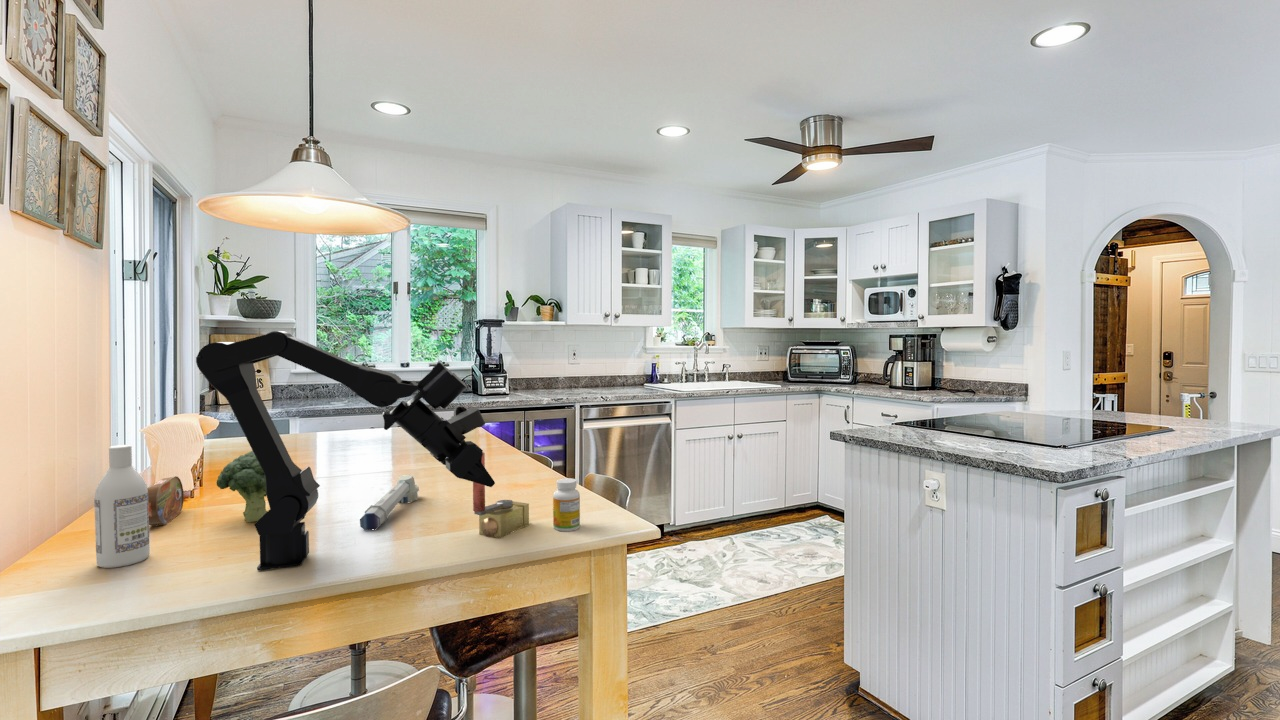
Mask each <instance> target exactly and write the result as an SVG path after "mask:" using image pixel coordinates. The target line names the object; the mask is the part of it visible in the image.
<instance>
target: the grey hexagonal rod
mask: <svg viewBox="0 0 1280 720" xmlns="http://www.w3.org/2000/svg"><path fill="white" fill-rule="evenodd" d="M396 482H397V483H396V485H394V486H393V487H392V488H391V489H390V490H389V491H388V492H387V493H386V494H384V495H383V496H381V498H380V499H379V500H377V501H376V503H374V504H372V505H369V507H368V508H367V509H366V510H365V511H364V514H363V515H362V516H361V518H360V519H359V527H360V528H361V529H363V531H376V530H377V529H378V528H379V527H380V526H382V525H383V524H384V523H385V522H387V520H388V516H389V515H390V514H391V512H392V511H393V510H394V509H395V508H396V507H397V505H398V504H409V503H408V502H411V503H412V502H415V501H417V500H418V498H419V497H418V496H419V495H418V492H419V491H420V489H419V485H418V484H416V482H415V477H414V476H413V475H412V474H411V473H410V474H403V475H400V476H399V477H398V478H397V480H396ZM381 524H382V525H381ZM372 529H374V530H372ZM375 529H376V530H375Z"/></svg>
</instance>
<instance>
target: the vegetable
mask: <svg viewBox="0 0 1280 720" xmlns="http://www.w3.org/2000/svg"><path fill="white" fill-rule="evenodd" d="M216 486H217V487H218V488H219V489H220V490H225V489H227V488H228V489H229V490H231V491H232V492H235V491H237V492H238V494H239V495H240V496H241V497H242V498H243V499H244V501H245V507H244V511H243V512H242V515H243V517H244V522H247V523H256V521H258V520H259V519H260V518H261V517H262V516H263V515H264V514H265V513H267V512H268V511H269V510H267V509H266V504H267V503H266V500H265V498H267V496H266V483H265V475H264V472H263V470H262V468H261V466H260V464H259V462H258V460H257V458H256V456H255V454H254V452H253V450H252V449H251V451H249V452H247V453H245V454H244V455H243V454H242V455H239V456H238V457H236V458H234V459H233V460H232V461H230V462H229V463H228V464H226V465H225V466H224V467H223V469H222V470H221V472H220V473H219V475H218V476H217V480H216Z"/></svg>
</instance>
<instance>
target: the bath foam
mask: <svg viewBox="0 0 1280 720" xmlns="http://www.w3.org/2000/svg"><path fill="white" fill-rule="evenodd" d="M132 452H133V451H132V445H131V444H119V445H111V446H109V447H108V463H109V468H108V469H107V470H106V472H105V474H104V475H103V476H102V478H101V479H100V480H99V482H98V484H97V486H96V488H95V491H94V499H93V502H94V527H95V529H94V532H95V557H96V558H95V559H96V565H97V566H98V567H100V568H105V569H110V568H114V569H115V568H122V567H128V566H131V565H134V564H137V563H141V562H142V561H144V560H146V559H148V557H149V556H150V555H151V554H150V553H151V552H150V551H151V550H150V548H151V547H150V546H151V545H150V525H149V507H148V489H147V488H148V486H147V483H146V481H145V479H144V477H143V476H142V475H141V473H139V471H138V470H136V469H135V467H134V466H133V458H132V457H133V454H132Z"/></svg>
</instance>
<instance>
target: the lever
mask: <svg viewBox="0 0 1280 720" xmlns="http://www.w3.org/2000/svg"><path fill="white" fill-rule="evenodd" d="M485 456H486V455H485V452H484V451H483V456H482V464H483V466H484V467H485V468H486V462H485V460H486V459H485ZM472 503H473V505H472V512H473V514H474V515H477V516H479V515H480V516H481V515H484V514H487V513H491V512H494V511H497V510H500V509H509V508H512V507H513V500H511V499H500V500H497V501H496V502H495V503H493V504H490V505H489V504H488V505H487V506H486V486H485V485H482V484H479V483H475V482H472Z"/></svg>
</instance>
